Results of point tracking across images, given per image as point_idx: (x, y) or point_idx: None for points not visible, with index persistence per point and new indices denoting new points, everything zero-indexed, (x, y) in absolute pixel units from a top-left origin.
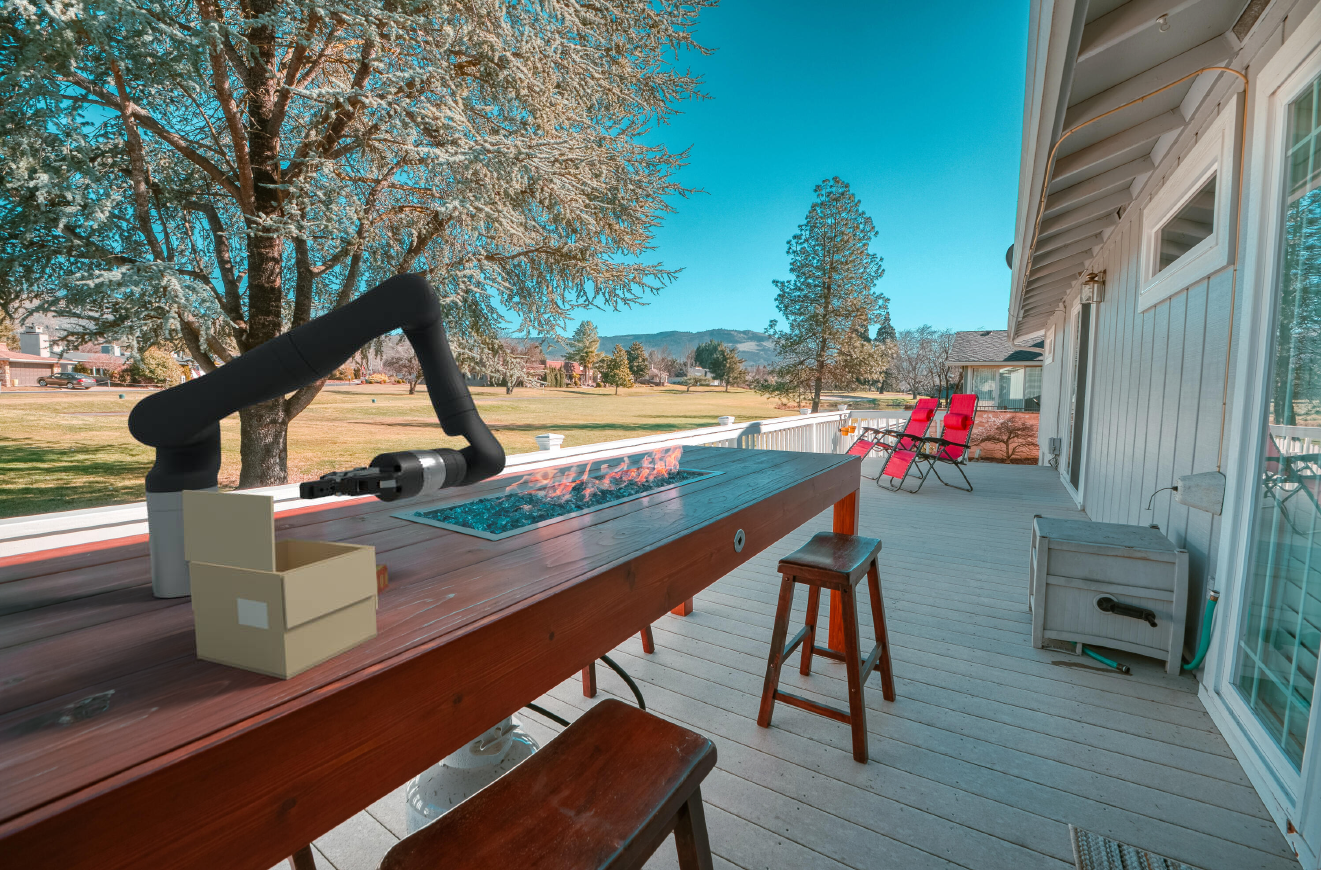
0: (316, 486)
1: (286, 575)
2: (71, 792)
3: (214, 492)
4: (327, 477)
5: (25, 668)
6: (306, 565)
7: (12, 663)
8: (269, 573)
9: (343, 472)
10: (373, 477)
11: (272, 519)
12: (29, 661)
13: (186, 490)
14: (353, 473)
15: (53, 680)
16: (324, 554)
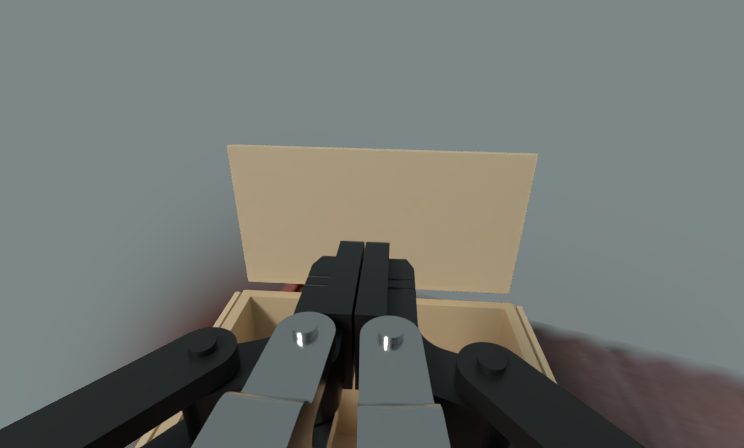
0: (318, 264)
1: (234, 295)
2: (301, 284)
3: (417, 150)
4: (394, 326)
5: (661, 364)
6: (229, 327)
7: (703, 368)
8: (272, 291)
9: (376, 408)
10: (17, 426)
11: (235, 191)
12: (695, 376)
13: (525, 154)
14: (236, 394)
15: (574, 356)
16: None
